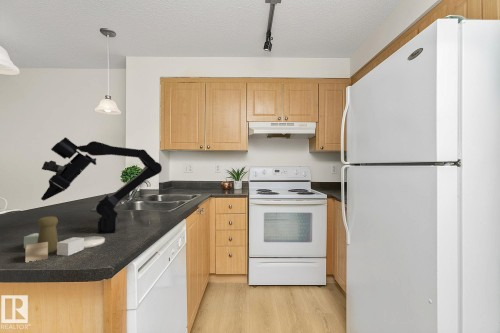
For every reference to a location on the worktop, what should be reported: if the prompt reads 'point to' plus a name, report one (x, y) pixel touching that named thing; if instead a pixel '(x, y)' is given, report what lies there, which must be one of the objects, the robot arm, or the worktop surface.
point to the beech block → (36, 251)
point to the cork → (48, 232)
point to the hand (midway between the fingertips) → (43, 198)
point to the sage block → (31, 239)
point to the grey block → (70, 246)
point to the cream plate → (93, 241)
